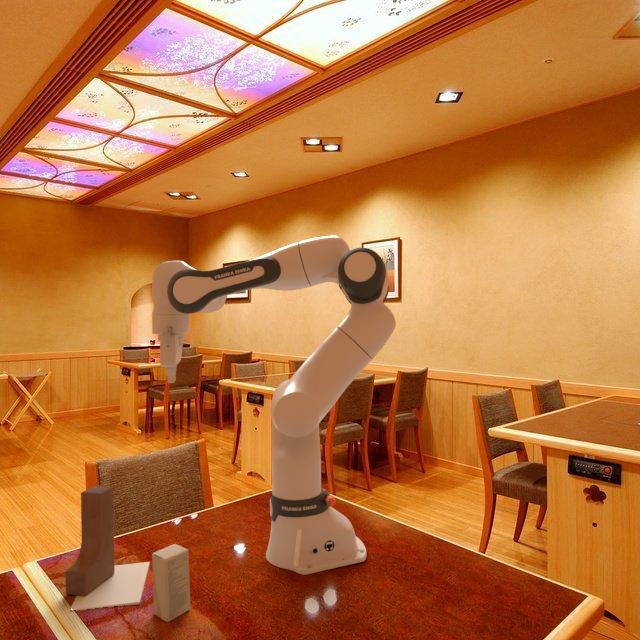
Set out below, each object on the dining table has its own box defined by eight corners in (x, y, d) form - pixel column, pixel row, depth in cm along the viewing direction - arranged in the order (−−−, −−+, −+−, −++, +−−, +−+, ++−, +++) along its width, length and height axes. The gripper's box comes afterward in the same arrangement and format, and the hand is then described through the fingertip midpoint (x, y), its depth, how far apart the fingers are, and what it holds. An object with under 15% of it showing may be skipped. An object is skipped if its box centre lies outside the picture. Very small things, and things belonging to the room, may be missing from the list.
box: (177, 601, 94) (176, 542, 94) (191, 609, 92) (190, 548, 92) (151, 614, 90) (151, 552, 90) (165, 623, 88) (165, 559, 88)
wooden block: (84, 597, 96) (83, 501, 96) (64, 594, 97) (63, 500, 97) (115, 574, 104) (114, 486, 104) (96, 571, 105) (95, 485, 105)
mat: (149, 564, 109) (149, 561, 109) (139, 604, 94) (139, 601, 94) (90, 570, 107) (90, 568, 107) (69, 613, 91) (69, 610, 91)
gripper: (181, 326, 116) (182, 387, 116) (186, 326, 136) (186, 377, 136) (153, 327, 115) (153, 388, 115) (161, 326, 135) (162, 378, 135)
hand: (171, 382), depth 126 cm, fingers closed
